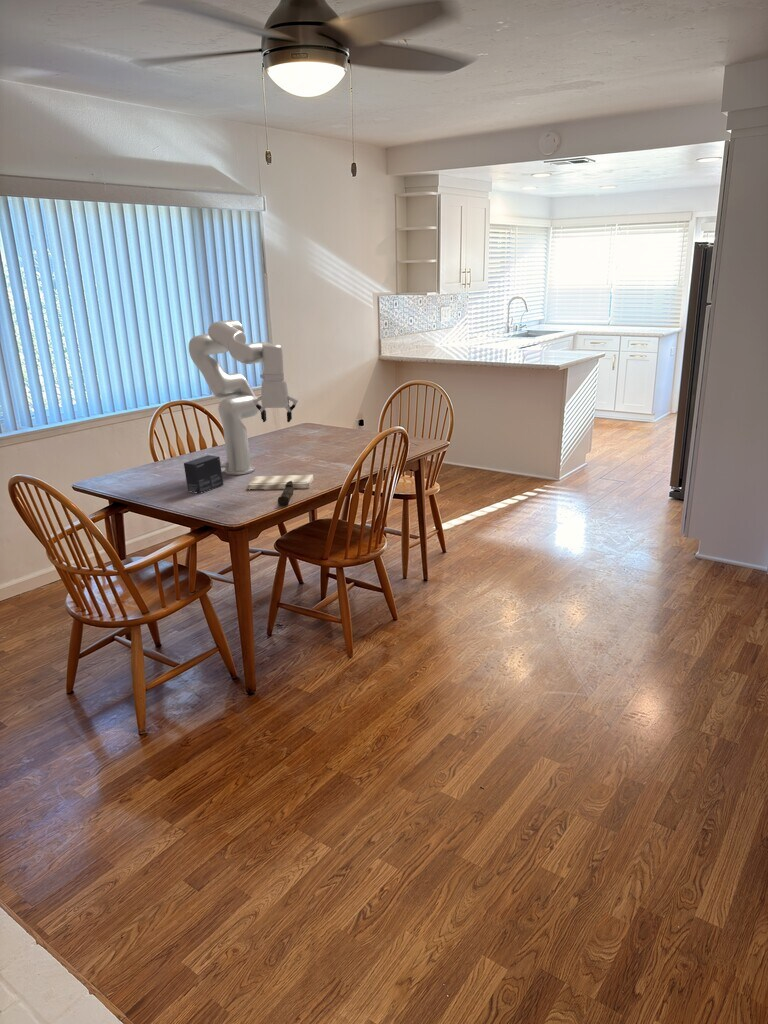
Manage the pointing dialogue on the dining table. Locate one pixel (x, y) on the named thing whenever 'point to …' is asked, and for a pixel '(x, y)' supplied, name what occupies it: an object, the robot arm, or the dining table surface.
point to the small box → (203, 473)
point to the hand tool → (286, 494)
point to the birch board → (280, 481)
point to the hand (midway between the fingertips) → (276, 421)
